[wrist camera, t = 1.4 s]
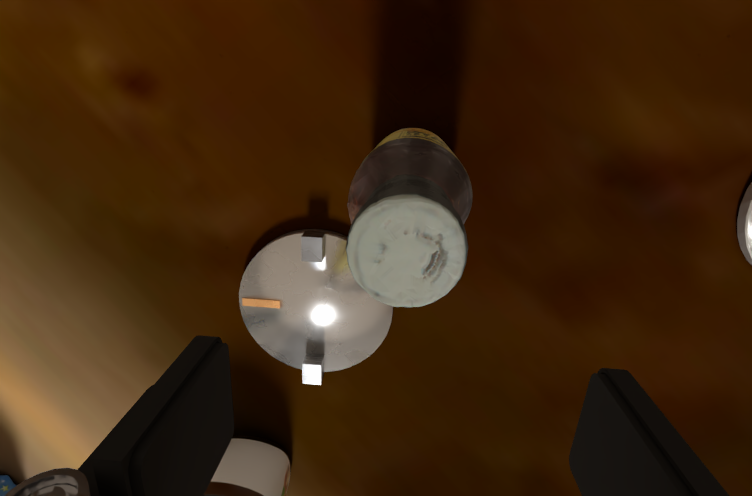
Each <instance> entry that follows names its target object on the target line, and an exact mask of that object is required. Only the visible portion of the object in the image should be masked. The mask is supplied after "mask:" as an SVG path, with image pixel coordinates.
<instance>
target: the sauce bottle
mask: <svg viewBox="0 0 752 496" xmlns="http://www.w3.org/2000/svg"><path fill="white" fill-rule="evenodd" d="M471 205H472V187H471V182H470V180H469V177H468V174H467V172H466V170H465V168H464V167H463V165H462V163H461V162H460V161H459V160H458V158H457V157H456V156H455V154H454V153H453V152H452V151H451V149H450V148H449V147H448V146H447V145H446V144H445V142H444V141H443V140H442V139H441V138H440V137H438V136H437V135H435V134H434V133H432V132H430V131H428V130H424V129H420V128H405V129H401V130H398V131H396V132H393V133H392V134H390V135H388V136H387V137H386V138H384V139H383V140H382V141H381V142H380V143H379V144H378V145H377V147H376V148H375V149H374V150H373V151H372V152H371V153H370V154H369V155H368V156H367V157H366V158H365V160H364V161H363V162H362V164H361V166H360V167H359V169H358V170H357V171H356V174H355V176H354V178H353V181H352V183H351V187H350V190H349V196H348V203H347V207H348V210H349V217H350V220H351V227H350V230H349V234H348V238H347V242H346V253H347V262H348V265H349V269H350V271H351V273H352V276H353V277H354V279H355V281H356V282H357V283H358V284H359V286H360V287H361V288H363V289H364V290H365V291H366V292H367V293H368V294H369V295H370V296H371V297H373V298H374V299H375V300H377V301H379V302H381V303H384V304H387V305H390V306H394V307H407V308H408V307H421V306H424V305H427V304H430V303H433V302H435V301H436V300H438V299H439V298H441V297H443V296H445V295H446V294H447V293H448V292H449V291H450V290H451V289H452V288H453V287H454V286H455V285H456V284H457V282H458V281H459V280H460V278H461V276H462V273H463V271H464V268H465V265H466V260H467V252H468V243H467V237H466V236H467V235H466V231H465V228H464V225H463V224H464V223H465V221H466V219H467V217H468V215H469V212H470V210H471Z"/></svg>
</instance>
